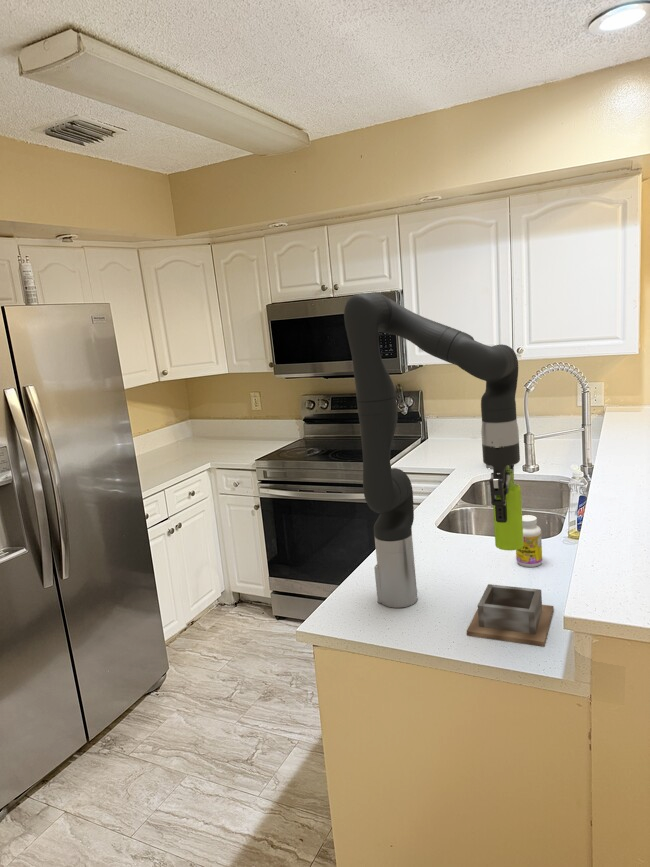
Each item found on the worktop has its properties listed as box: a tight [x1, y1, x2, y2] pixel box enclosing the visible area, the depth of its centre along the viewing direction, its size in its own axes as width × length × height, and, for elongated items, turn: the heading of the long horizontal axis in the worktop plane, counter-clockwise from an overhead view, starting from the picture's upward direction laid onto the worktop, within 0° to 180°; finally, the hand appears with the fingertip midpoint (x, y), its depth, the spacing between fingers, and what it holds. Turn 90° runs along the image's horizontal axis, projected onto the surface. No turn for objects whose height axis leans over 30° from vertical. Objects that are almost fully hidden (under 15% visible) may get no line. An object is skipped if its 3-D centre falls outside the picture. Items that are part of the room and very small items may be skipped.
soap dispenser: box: [492, 465, 524, 551], centre depth 129 cm, size 6×7×20 cm
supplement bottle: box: [515, 514, 543, 568], centre depth 162 cm, size 7×7×13 cm
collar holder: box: [466, 583, 555, 647], centre depth 134 cm, size 16×16×6 cm
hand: (504, 516), depth 130 cm, fingers closed on soap dispenser, 6 cm apart
